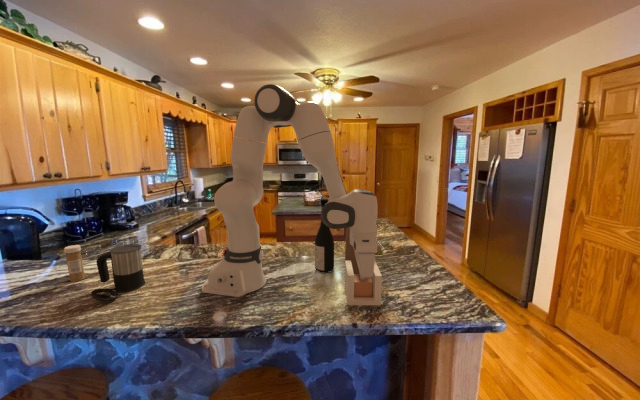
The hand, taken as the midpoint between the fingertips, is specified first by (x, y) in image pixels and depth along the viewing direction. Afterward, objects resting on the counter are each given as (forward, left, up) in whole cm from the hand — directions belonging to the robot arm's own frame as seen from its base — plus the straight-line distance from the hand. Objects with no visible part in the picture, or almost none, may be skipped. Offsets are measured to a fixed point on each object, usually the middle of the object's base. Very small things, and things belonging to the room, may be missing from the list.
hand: (362, 277), depth 88 cm
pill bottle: (-109, +9, -7) cm, 110 cm away
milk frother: (-85, 0, -7) cm, 85 cm away
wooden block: (+1, +20, -7) cm, 21 cm away
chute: (0, 0, -6) cm, 6 cm away
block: (0, 0, -6) cm, 6 cm away
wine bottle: (-13, +20, -7) cm, 25 cm away
